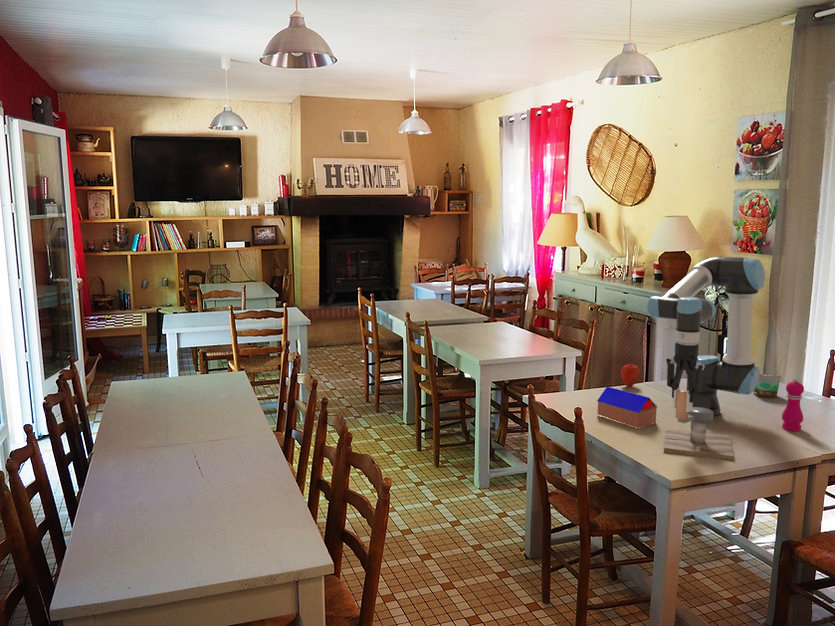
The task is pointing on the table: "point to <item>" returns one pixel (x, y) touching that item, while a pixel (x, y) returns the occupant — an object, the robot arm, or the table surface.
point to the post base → (706, 449)
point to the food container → (767, 386)
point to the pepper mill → (793, 407)
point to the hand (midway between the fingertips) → (682, 409)
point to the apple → (630, 374)
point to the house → (627, 407)
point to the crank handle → (695, 415)
